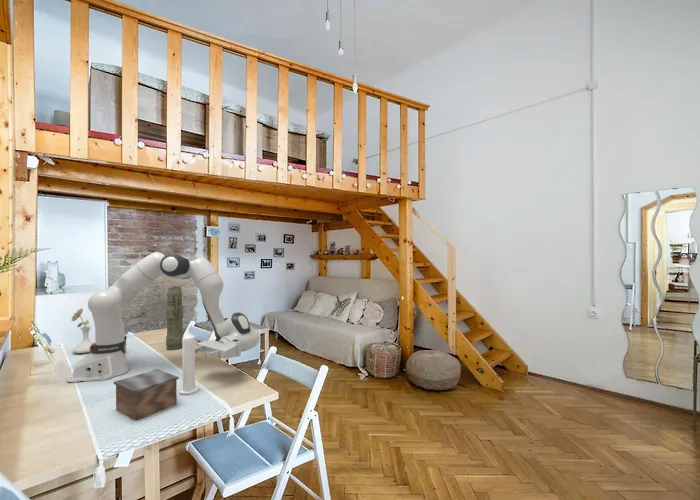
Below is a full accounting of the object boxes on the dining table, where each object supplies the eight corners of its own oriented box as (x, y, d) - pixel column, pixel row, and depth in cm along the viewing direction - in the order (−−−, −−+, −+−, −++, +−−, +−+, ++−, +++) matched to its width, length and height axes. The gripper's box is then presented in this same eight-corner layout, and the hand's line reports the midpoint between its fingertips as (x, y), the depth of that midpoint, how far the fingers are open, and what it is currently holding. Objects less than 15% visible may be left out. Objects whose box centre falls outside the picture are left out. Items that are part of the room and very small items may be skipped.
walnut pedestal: (134, 421, 111) (134, 391, 111) (113, 409, 119) (113, 381, 119) (178, 404, 124) (178, 376, 124) (157, 394, 132) (157, 369, 132)
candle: (185, 396, 130) (185, 331, 130) (175, 392, 134) (174, 329, 134) (202, 390, 136) (202, 328, 136) (191, 386, 140) (191, 326, 140)
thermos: (179, 344, 203) (179, 286, 203) (186, 348, 194) (186, 287, 194) (163, 347, 197) (163, 287, 196) (169, 351, 188) (169, 288, 188)
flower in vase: (86, 348, 194) (86, 305, 194) (103, 349, 193) (103, 305, 193) (64, 355, 181) (63, 309, 181) (82, 356, 180) (82, 309, 180)
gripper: (213, 335, 157) (185, 342, 145) (243, 342, 145) (214, 349, 134) (213, 349, 157) (185, 356, 145) (243, 356, 145) (214, 365, 134)
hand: (199, 353), depth 139 cm, fingers open, 8 cm apart
